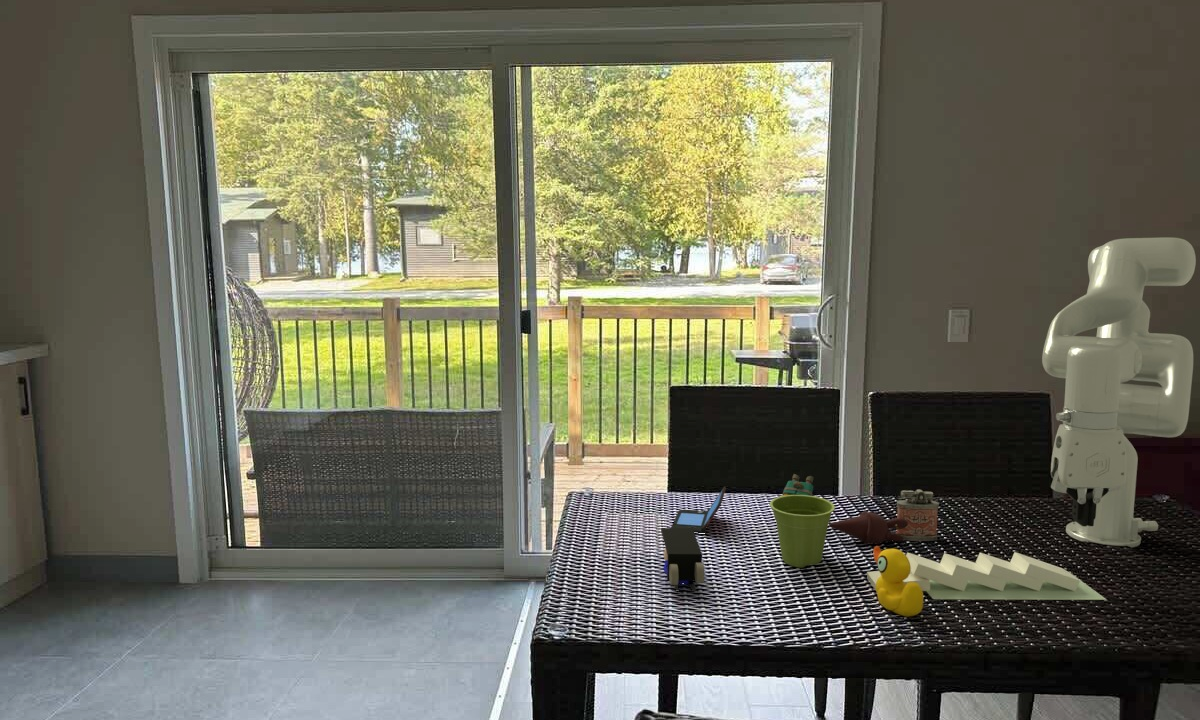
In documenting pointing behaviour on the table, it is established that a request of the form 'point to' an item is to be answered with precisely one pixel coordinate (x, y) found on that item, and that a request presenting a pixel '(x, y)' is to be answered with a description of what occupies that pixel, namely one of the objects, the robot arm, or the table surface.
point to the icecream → (871, 528)
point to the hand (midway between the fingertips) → (1083, 523)
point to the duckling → (896, 583)
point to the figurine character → (682, 557)
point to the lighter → (918, 516)
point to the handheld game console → (698, 516)
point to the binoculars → (799, 486)
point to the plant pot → (801, 527)
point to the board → (1013, 592)
